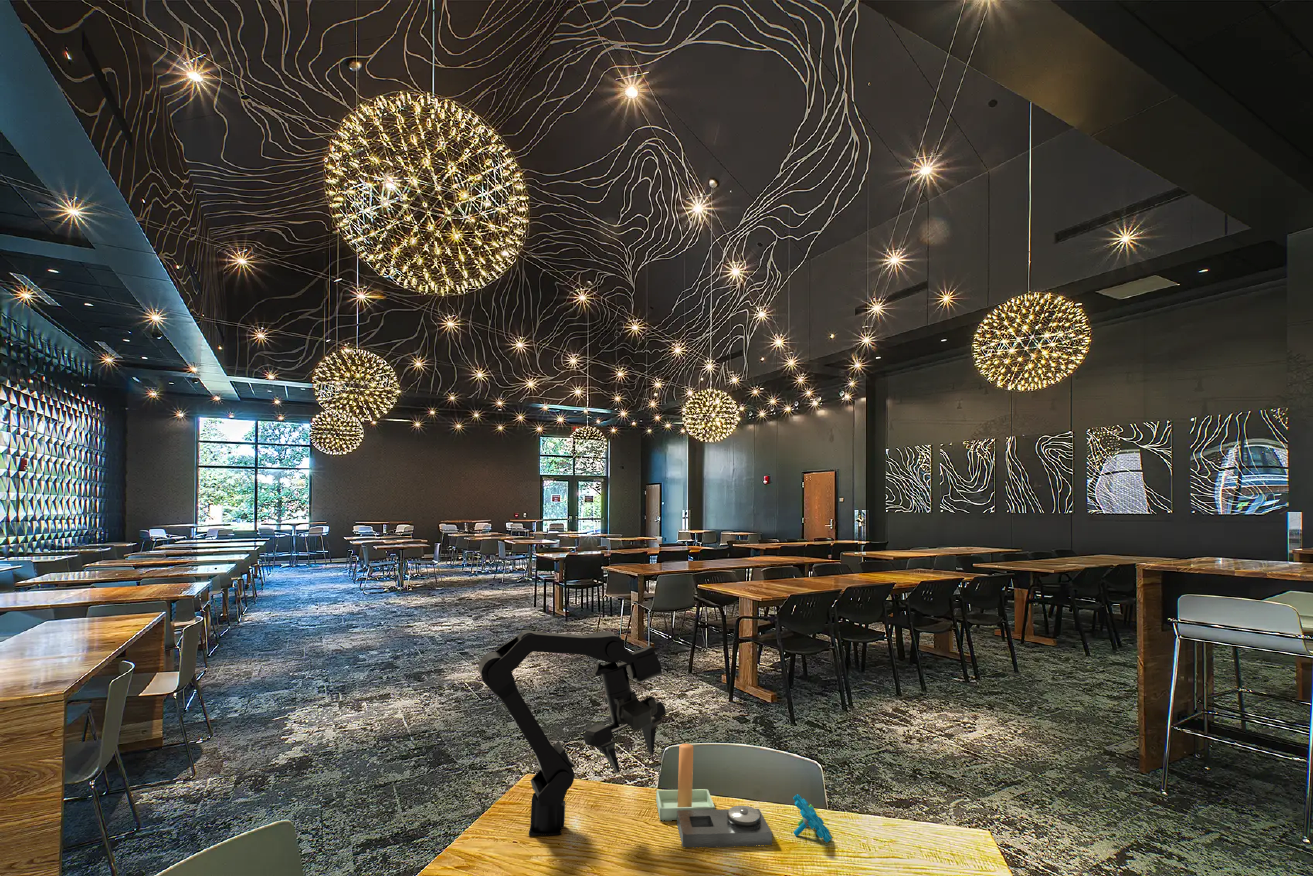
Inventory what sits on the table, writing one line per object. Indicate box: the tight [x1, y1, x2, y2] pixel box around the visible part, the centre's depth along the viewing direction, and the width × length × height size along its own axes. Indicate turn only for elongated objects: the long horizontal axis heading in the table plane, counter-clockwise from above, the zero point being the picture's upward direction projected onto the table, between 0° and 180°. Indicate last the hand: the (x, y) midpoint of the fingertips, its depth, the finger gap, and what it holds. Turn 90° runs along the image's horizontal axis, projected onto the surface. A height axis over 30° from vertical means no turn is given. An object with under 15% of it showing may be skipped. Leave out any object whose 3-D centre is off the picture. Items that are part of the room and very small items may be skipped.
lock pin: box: [677, 743, 694, 807], centre depth 134 cm, size 3×3×13 cm
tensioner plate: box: [676, 805, 773, 849], centre depth 123 cm, size 18×10×5 cm, turn 95°
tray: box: [655, 788, 716, 822], centre depth 133 cm, size 12×9×2 cm
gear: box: [792, 793, 833, 843], centre depth 124 cm, size 11×6×10 cm
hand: (635, 763), depth 130 cm, fingers open, 9 cm apart
